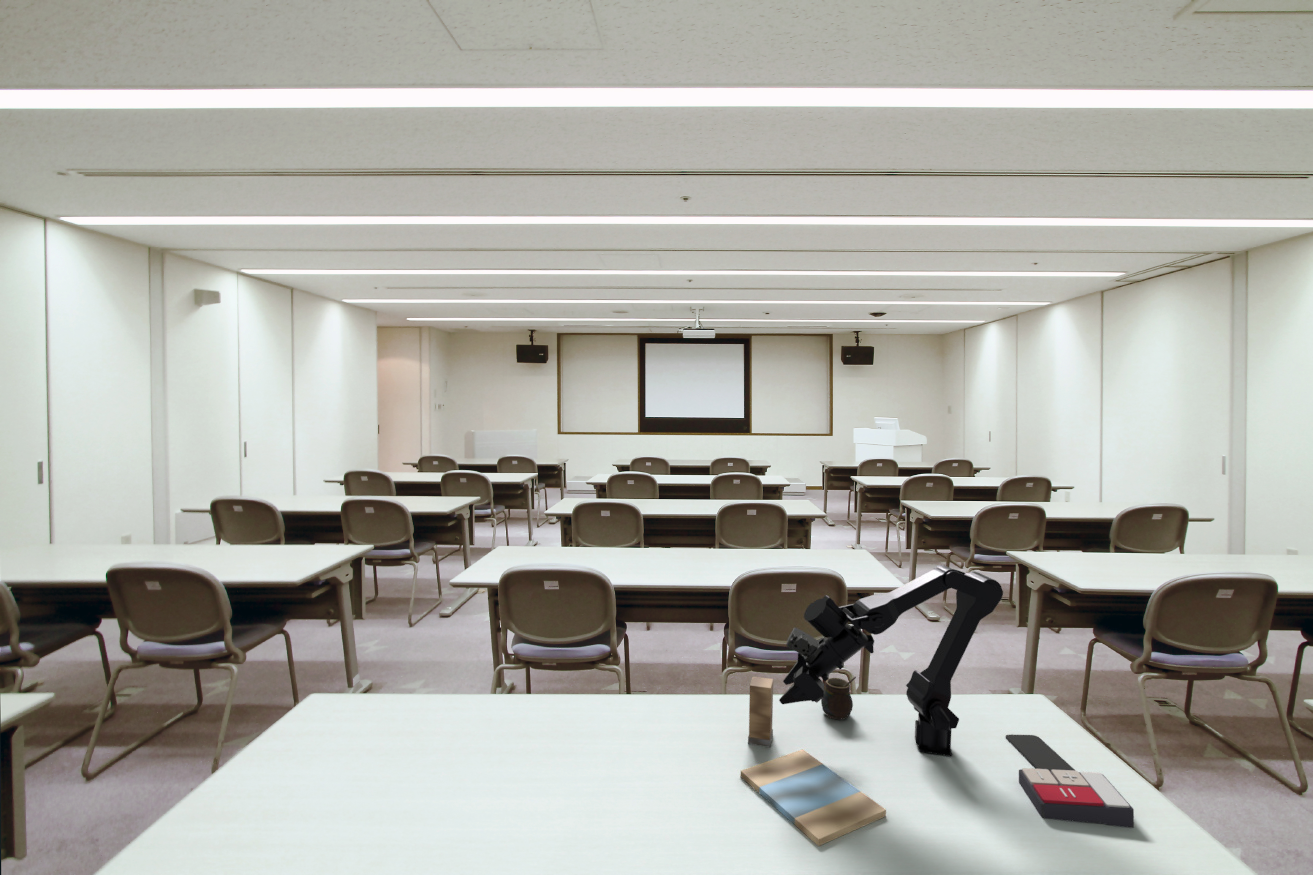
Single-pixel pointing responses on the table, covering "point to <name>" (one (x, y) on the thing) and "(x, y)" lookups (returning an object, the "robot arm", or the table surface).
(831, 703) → the mate gourd
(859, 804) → the board
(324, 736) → the table surface
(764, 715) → the wooden pillar on base
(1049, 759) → the phone
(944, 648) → the robot arm
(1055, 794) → the calculator
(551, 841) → the table surface
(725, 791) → the table surface
